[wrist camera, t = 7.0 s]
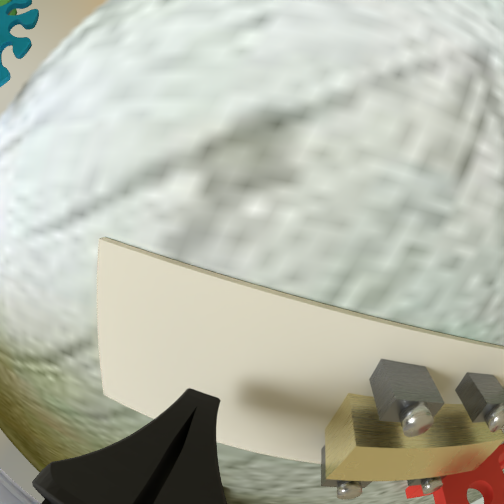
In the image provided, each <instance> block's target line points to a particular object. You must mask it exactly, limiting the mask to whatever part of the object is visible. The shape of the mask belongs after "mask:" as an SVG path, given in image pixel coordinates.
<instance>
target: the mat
mask: <svg viewBox="0 0 504 504" xmlns="http://www.w3.org/2000/svg"><path fill="white" fill-rule="evenodd" d="M97 326H98V344H99V357H100V367H101V376H102V385H103V392H104V395H106V396H107V397H109V398H111V399H113V400H115V401H117V402H119V403H121V404H123V405H125V406H127V407H129V408H131V409H133V410H135V411H137V412H140V413H142V414H144V415H146V416H149V417H151V418H153V419H155V418H157V417H158V416H159V415H160V414H161V413H163V412H164V411H165V410H166V409H168V408H169V407H170V406H171V405H172V404H173V403H174V402H175V401H176V400H177V399H178V398H179V397H180V396H181V395H182V394H183V393H184V392H185V391H186V389H188V388H191V389H194V390H197V391H200V392H202V393H205V394H208V395H211V396H214V397H217V398H219V399H220V400H221V401H220V405H219V408H218V414H217V424H216V442H219V443H222V444H226V445H229V446H233V447H236V448H240V449H244V450H248V451H252V452H256V453H261V454H265V455H270V456H275V457H280V458H285V459H291V460H297V461H303V462H310V463H318V464H321V449H322V448H323V446H324V445H325V428H326V427H327V425H328V424H329V422H330V421H331V419H332V418H333V416H334V415H335V413H336V412H337V410H338V409H339V407H340V406H341V404H342V402H343V401H344V399H345V398H346V396H347V394H348V393H352V394H358V395H364V396H371V397H374V396H373V392H372V388H371V385H370V381H369V379H370V377H371V375H372V374H373V372H374V370H375V368H376V367H377V365H378V363H379V361H380V360H381V359H386V360H392V361H397V362H403V363H408V364H414V365H420V366H426V368H427V370H428V372H429V374H430V376H431V377H432V379H433V381H434V383H435V385H436V387H437V389H438V391H439V393H440V395H441V397H442V399H443V401H444V404H462V402H461V400H460V398H459V397H458V395H457V393H456V391H455V389H456V388H457V386H458V385H459V383H460V382H461V380H462V379H463V377H464V376H465V374H466V373H467V372H471V373H481V374H491V375H494V376H495V377H496V379H497V380H498V381H499V383H500V384H501V385H502V387H504V346H499V345H494V344H489V343H485V342H480V341H475V340H470V339H466V338H461V337H457V336H452V335H448V334H443V333H439V332H434V331H430V330H426V329H421V328H417V327H413V326H409V325H405V324H400V323H396V322H392V321H388V320H384V319H380V318H376V317H372V316H368V315H364V314H360V313H357V312H353V311H349V310H345V309H341V308H337V307H334V306H330V305H326V304H322V303H319V302H315V301H311V300H308V299H304V298H300V297H297V296H293V295H290V294H286V293H283V292H279V291H276V290H272V289H269V288H265V287H262V286H258V285H255V284H251V283H248V282H244V281H241V280H238V279H234V278H231V277H228V276H224V275H221V274H218V273H214V272H211V271H208V270H205V269H201V268H198V267H195V266H192V265H188V264H185V263H182V262H179V261H176V260H173V259H169V258H166V257H163V256H160V255H157V254H154V253H151V252H148V251H145V250H142V249H139V248H136V247H132V246H129V245H126V244H123V243H121V242H118V241H115V240H112V239H109V238H106V237H103V238H100V239H99V244H98V262H97Z"/></svg>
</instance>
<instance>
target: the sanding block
mask: <svg viewBox="0 0 504 504" xmlns="http://www.w3.org/2000/svg"><path fill="white" fill-rule="evenodd" d="M433 419H434V422H433V424H432V426H431V427H430V428H429V429H428V430H427V431H426V432H424V433H423V434H421V435H418V436H415V437H407V436H405V435H404V432H403V429H402V426H401V422H387V421H380V420H379V416H378V412H377V408H376V404H375V400H374V397H371V396H364V395H358V394H352V393H348V394H347V396H346V398H345V399H344V401H343V402H342V404H341V406H340V407H339V409H338V410H337V412H336V413H335V415H334V416H333V418H332V419H331V421H330V422H329V424H328V425H327V427H326V428H325V460H326V479H332V480H347V481H396V480H411V479H422V478H431V477H438V476H445V475H451V474H457V473H462V472H467V471H472V470H475V469H476V468H477V467H478V466H479V465H481V464H482V463H483V462H484V461H485V460H486V459H487V458H488V457H489V456H490V455H491V454H492V453H493V452H494V451H495V450H496V449H497V447H498V446H499V445H500V444H501V443H502V442H503V441H504V434H503V432H502V431H501V429H499V430H497V431H495V432H491V431H490V429H489V428H488V426H487V424H486V422H478V423H472V421H471V419H470V417H469V415H468V413H467V411H466V409H465V407H464V406H463V404H444V405H443V406H442V407H441V409H440V410H439V411H438V413H437V414H436V415H435V416H434V418H433Z"/></svg>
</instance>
